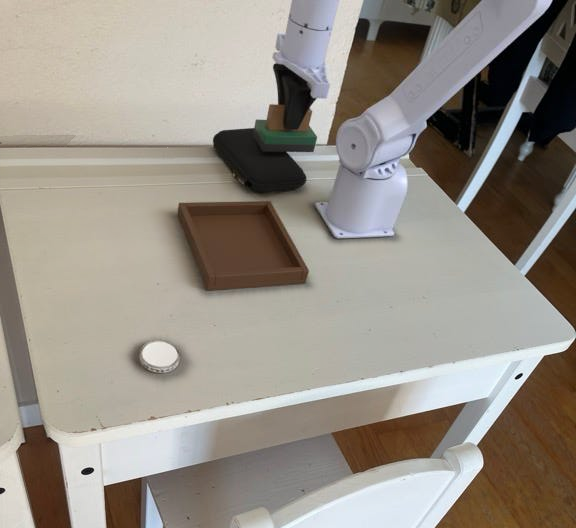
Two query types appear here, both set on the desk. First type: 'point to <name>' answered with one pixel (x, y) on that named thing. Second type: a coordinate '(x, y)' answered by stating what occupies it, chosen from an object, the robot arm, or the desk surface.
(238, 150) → the carrying case
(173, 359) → the white bottle cap
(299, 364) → the desk surface
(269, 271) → the tray
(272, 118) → the brush
